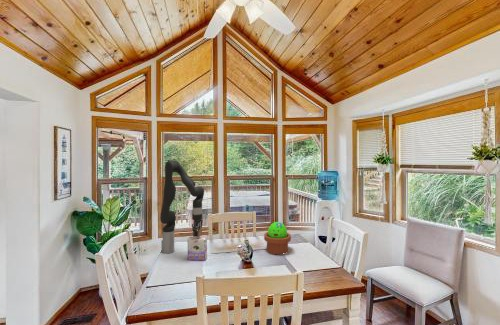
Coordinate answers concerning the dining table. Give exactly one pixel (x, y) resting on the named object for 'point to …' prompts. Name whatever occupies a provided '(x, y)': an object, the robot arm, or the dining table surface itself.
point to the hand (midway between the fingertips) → (197, 235)
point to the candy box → (197, 248)
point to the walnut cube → (198, 232)
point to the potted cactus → (277, 238)
